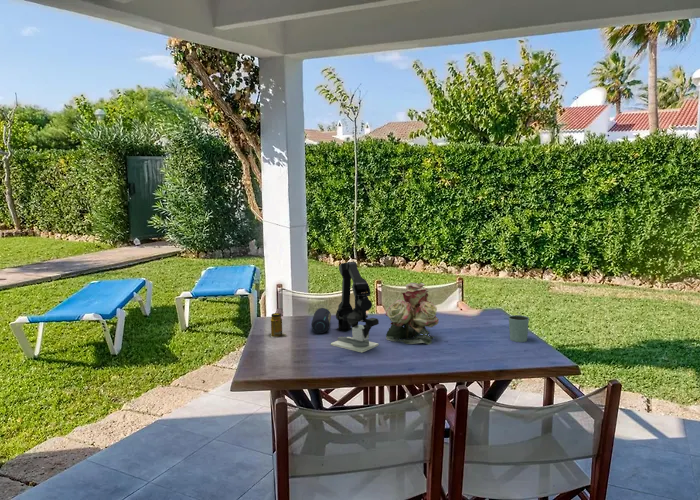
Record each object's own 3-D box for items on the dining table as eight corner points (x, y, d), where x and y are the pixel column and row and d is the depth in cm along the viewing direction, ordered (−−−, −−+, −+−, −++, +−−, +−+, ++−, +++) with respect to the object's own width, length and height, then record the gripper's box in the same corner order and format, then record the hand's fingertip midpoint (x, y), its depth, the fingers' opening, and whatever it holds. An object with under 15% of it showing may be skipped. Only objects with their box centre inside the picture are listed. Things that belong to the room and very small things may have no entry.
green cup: (529, 343, 274) (530, 320, 272) (508, 342, 276) (509, 319, 274) (526, 337, 284) (527, 315, 282) (507, 336, 286) (507, 314, 284)
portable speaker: (329, 335, 292) (328, 317, 290) (310, 335, 292) (310, 317, 291) (331, 322, 317) (331, 306, 315) (314, 322, 317) (314, 306, 315)
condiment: (270, 334, 295) (269, 312, 293) (285, 332, 297) (284, 311, 295) (271, 338, 288) (270, 316, 286) (287, 336, 290) (286, 315, 288)
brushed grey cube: (352, 338, 270) (352, 327, 270) (359, 335, 275) (359, 324, 274) (361, 341, 267) (361, 329, 266) (369, 338, 271) (369, 326, 271)
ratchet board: (330, 345, 275) (330, 333, 274) (347, 338, 285) (347, 327, 285) (361, 352, 262) (361, 340, 261) (378, 345, 273) (378, 334, 272)
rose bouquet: (381, 342, 278) (380, 285, 274) (402, 328, 304) (402, 276, 300) (428, 349, 266) (428, 290, 262) (445, 333, 292) (446, 279, 288)
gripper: (335, 306, 268) (336, 336, 270) (365, 312, 257) (366, 343, 259) (349, 302, 277) (350, 331, 279) (379, 307, 265) (379, 338, 267)
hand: (360, 336), depth 271 cm, fingers closed on brushed grey cube, 6 cm apart
